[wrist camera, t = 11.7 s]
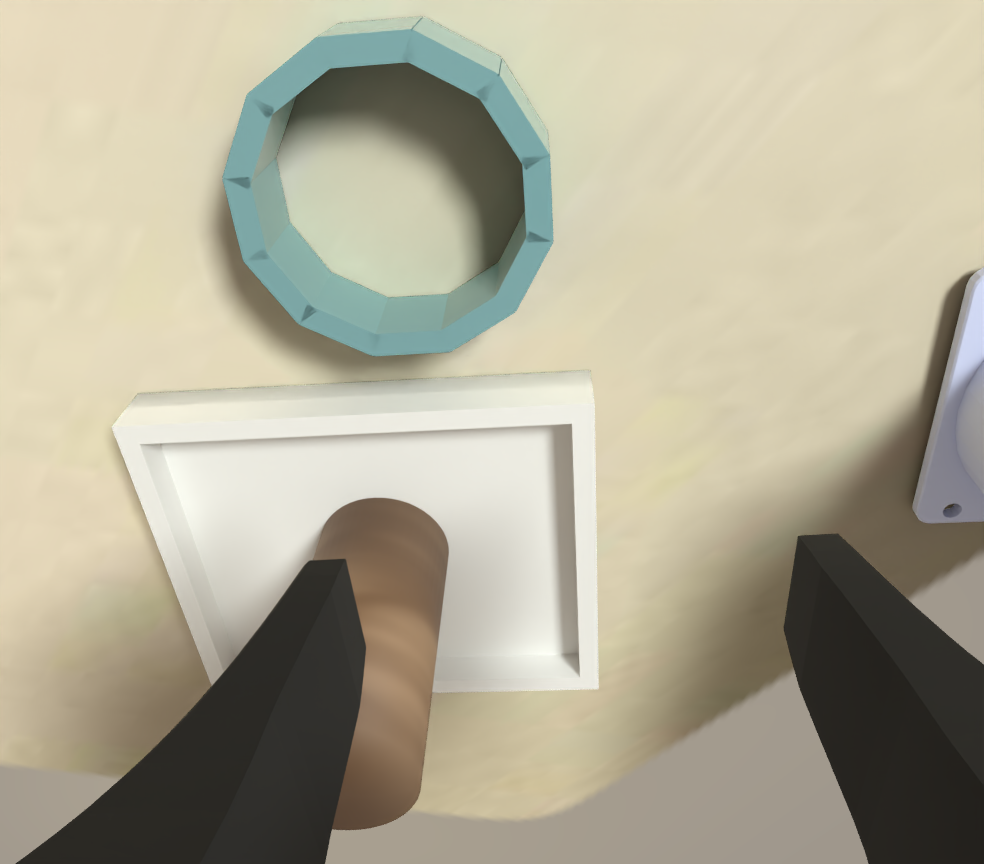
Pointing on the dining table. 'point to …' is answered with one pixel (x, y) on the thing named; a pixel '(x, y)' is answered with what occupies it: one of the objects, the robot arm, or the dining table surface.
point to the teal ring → (298, 268)
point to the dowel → (389, 650)
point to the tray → (385, 474)
